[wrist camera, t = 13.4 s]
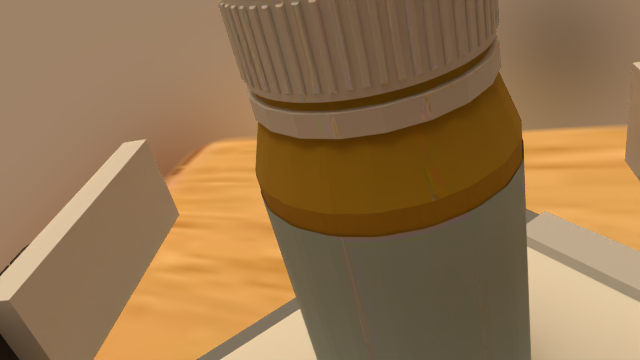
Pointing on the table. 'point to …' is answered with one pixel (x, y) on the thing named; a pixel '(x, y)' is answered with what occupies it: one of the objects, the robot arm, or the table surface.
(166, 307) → the table surface
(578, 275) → the clipboard
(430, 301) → the bottle
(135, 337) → the table surface
